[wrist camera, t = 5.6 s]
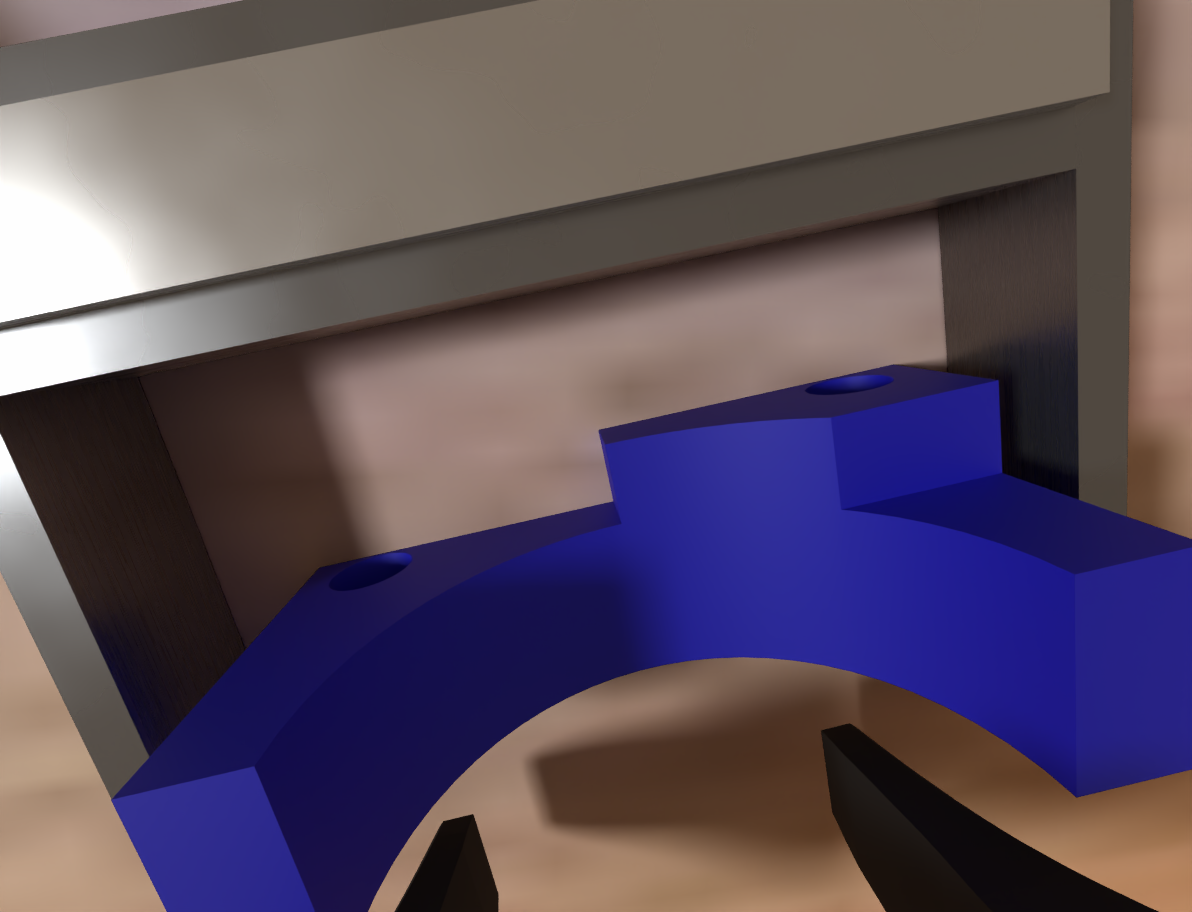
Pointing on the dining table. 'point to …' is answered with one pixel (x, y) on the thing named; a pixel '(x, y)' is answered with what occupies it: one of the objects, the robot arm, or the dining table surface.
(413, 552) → the blue arched block
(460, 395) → the dining table surface
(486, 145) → the rack
